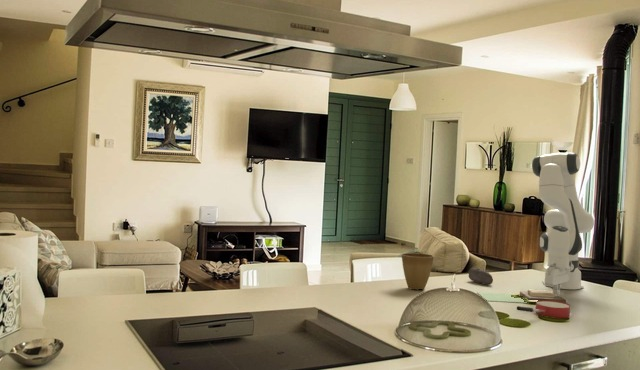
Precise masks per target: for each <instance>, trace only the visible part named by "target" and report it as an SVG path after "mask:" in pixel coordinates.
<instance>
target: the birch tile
mask: <svg viewBox="0 0 640 370" xmlns="http://www.w3.org/2000/svg"><path fill="white" fill-rule="evenodd" d="M527 292H528V294H529V295H531V296H538V297H555V293H553V290H545V289H527Z"/></svg>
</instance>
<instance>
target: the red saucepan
mask: <svg viewBox="0 0 640 370" xmlns="http://www.w3.org/2000/svg"><path fill="white" fill-rule="evenodd" d="M516 311H521V312H529V313H533V312H535V314H537V315H538V316H541V315H543V316H542V317H544V316H548V317H547V318H549V317H555V318H554V319H568V318H570V317H571V305H570V304H568V303H567V302H566V303H561V302H556V301H537V302H536V303H535V308H532V307H527V306H516Z"/></svg>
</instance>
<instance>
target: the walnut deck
mask: <svg viewBox="0 0 640 370" xmlns="http://www.w3.org/2000/svg"><path fill="white" fill-rule="evenodd" d="M520 295H521V296H523V297H525V298H527V299H528V300H538V301H556V302H561V303H566V304H567V299H565V298H564V297H562V296H560V295H559V294H555V297H538V296H531V295H529V294H528V291H519V296H520Z"/></svg>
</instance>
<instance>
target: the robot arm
mask: <svg viewBox="0 0 640 370" xmlns="http://www.w3.org/2000/svg"><path fill="white" fill-rule="evenodd" d="M580 168H581V159H580V158H579V155H578V154H577V153H576V152H570V151H569V152H554V153H549V154H543V155H542V154H541V155H538V156H534V158H533V159H532V163H531V169H532V172H533V174H534V175H535V176H536V177H539V178H538V179H539V181H538V195H539V198H540V200H541V201H542V203H543V204H545V205H546V206H548V207H550V208H551V209H549V210H547V211H546V213H545V214H544V217H543V223H544V225H545V226H546V227H547V228H548V229H549V231H546V232H543V233H541V235H540V236H539V241H538V242H539V244H538V245H539V246H538V247H539V248H540V250H542V251H543V252H544V253H546V254H547V253H548V254H547V264H546V265H547V268H546V270H545V273H544V274H545V275H544V278H543V279H542V280H541V282H542V283H543V284H544V286H545V287H551V288H552V292H553V293H555V294H557V295H559V294H560V290H561V289H563V290H581V289H584V285H582V272H581V270H580V269H579V265H580V263H579V261H580V260H579V252H580V251H582V249H583V241H582V237H581V234H584V233H585V234H587V233H589V232H591V231H592V230H593V228H594V225H595V219H594V217H593V215H592V214H591V213H590V212H588V211H587V210H586V209H585V208H584V207H583V205H582V204H581V202H580V199H579V198H578V194H577V188H576V187H577V186H576V182H575V176H574V174H577V173H578V172H579V171H580Z"/></svg>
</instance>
